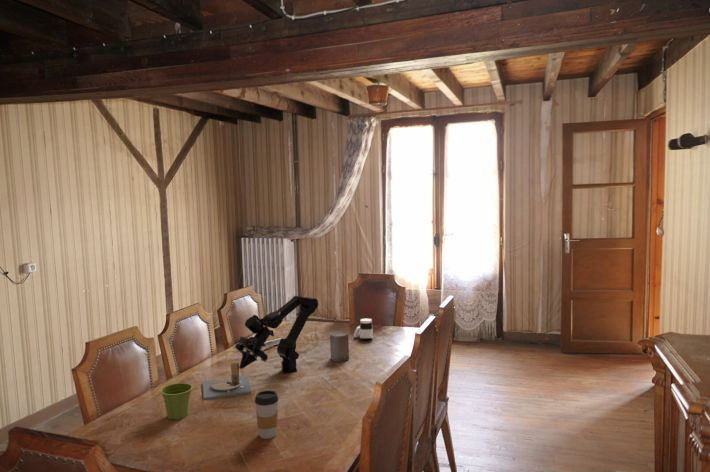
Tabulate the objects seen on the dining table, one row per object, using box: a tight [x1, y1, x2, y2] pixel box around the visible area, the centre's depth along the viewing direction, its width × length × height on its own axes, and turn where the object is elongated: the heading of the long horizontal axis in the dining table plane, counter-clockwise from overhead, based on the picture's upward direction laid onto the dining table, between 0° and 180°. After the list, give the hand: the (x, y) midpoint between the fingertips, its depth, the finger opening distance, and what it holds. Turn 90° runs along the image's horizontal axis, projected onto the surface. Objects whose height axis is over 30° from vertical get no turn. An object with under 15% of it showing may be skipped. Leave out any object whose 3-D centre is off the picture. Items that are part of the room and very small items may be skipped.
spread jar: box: [353, 318, 374, 342], centre depth 291 cm, size 12×11×12 cm
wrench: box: [260, 337, 285, 351], centre depth 274 cm, size 8×2×30 cm
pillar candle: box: [329, 330, 350, 363], centre depth 255 cm, size 10×10×15 cm
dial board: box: [202, 375, 253, 401], centre depth 219 cm, size 20×20×2 cm
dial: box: [211, 362, 241, 391], centre depth 218 cm, size 13×13×10 cm
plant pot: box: [160, 382, 194, 420], centre depth 191 cm, size 12×12×11 cm
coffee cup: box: [254, 390, 279, 440], centre depth 174 cm, size 8×8×15 cm
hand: (240, 368), depth 219 cm, fingers closed
